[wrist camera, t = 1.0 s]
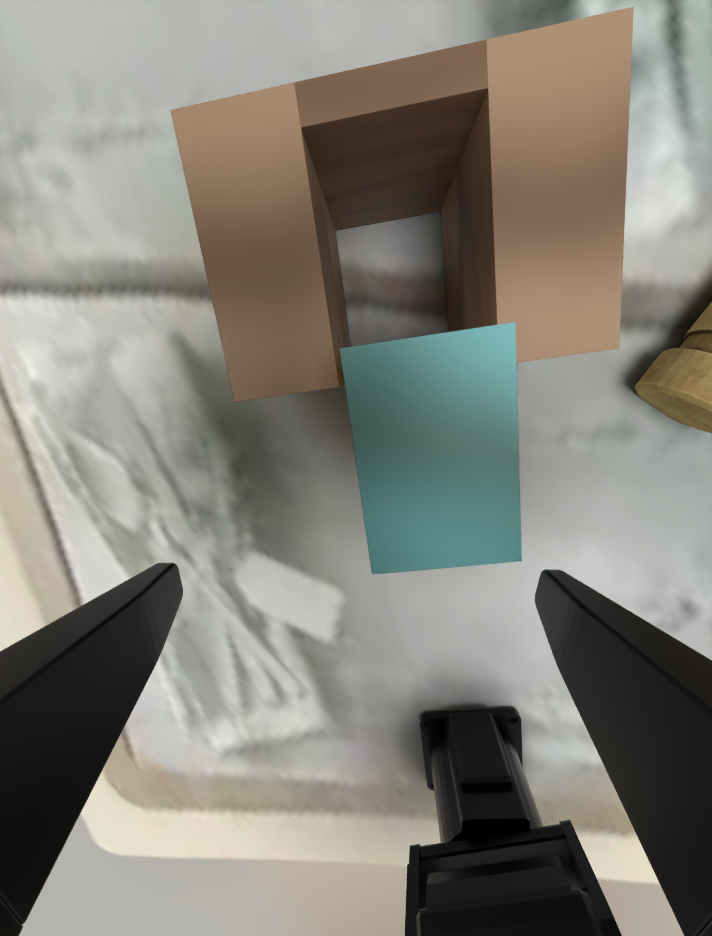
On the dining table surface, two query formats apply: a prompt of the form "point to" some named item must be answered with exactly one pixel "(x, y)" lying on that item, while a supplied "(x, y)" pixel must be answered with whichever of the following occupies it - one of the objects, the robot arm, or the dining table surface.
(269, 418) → the dining table surface
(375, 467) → the block
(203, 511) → the dining table surface
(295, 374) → the socket block
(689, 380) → the gavel
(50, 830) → the robot arm
